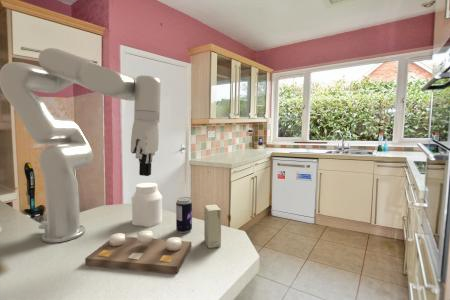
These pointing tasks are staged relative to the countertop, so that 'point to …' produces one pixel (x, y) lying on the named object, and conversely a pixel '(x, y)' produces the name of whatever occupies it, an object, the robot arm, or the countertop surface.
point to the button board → (140, 256)
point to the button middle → (145, 236)
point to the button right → (173, 243)
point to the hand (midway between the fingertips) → (145, 175)
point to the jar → (147, 205)
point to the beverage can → (184, 214)
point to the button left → (117, 239)
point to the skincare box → (212, 226)
